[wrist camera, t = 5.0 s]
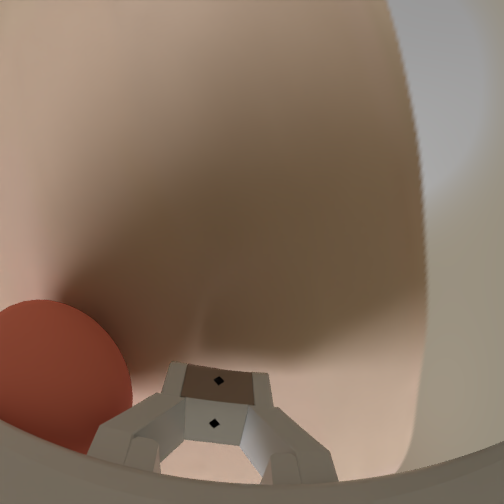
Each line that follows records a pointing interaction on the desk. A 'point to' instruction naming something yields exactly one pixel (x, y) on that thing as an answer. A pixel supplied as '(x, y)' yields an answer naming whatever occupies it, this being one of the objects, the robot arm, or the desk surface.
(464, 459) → the robot arm
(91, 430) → the ball
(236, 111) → the desk surface
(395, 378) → the desk surface
